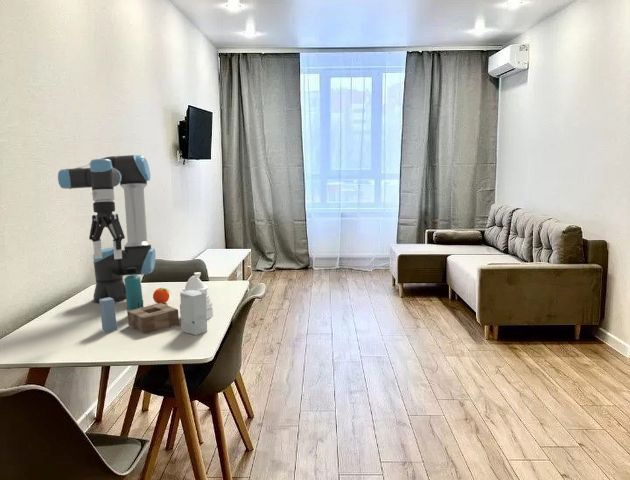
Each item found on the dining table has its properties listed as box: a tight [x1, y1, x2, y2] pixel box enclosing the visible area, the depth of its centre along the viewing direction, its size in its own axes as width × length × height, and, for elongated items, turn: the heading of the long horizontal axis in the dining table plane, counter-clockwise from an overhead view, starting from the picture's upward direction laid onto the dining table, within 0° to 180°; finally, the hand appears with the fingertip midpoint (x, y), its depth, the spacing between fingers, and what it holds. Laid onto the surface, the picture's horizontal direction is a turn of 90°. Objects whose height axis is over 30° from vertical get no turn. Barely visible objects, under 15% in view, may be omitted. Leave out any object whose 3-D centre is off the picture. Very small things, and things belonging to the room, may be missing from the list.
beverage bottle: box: [123, 267, 145, 312], centre depth 228 cm, size 6×7×20 cm
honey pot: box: [179, 271, 214, 320], centre depth 224 cm, size 13×13×18 cm
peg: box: [99, 297, 118, 333], centre depth 212 cm, size 4×4×12 cm
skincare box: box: [179, 290, 208, 336], centre depth 205 cm, size 8×6×15 cm
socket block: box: [126, 303, 180, 335], centre depth 216 cm, size 14×14×6 cm
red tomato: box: [152, 287, 171, 304], centre depth 246 cm, size 8×7×7 cm
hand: (108, 258), depth 209 cm, fingers open, 13 cm apart
